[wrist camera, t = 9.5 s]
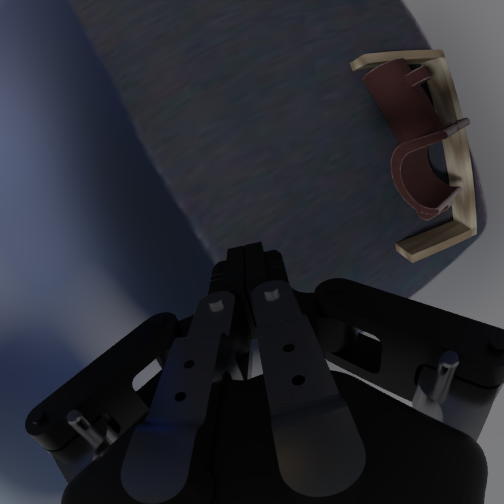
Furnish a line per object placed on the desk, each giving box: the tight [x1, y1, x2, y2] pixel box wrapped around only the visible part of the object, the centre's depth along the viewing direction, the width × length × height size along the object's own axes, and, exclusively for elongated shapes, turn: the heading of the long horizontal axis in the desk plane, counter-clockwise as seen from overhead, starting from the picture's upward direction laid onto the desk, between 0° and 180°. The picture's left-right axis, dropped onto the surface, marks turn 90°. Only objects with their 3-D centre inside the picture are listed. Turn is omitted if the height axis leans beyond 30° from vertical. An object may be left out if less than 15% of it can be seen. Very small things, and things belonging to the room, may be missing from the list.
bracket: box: [362, 58, 470, 220], centre depth 25 cm, size 6×17×10 cm, turn 29°
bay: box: [350, 50, 477, 263], centre depth 28 cm, size 23×11×4 cm, turn 19°
